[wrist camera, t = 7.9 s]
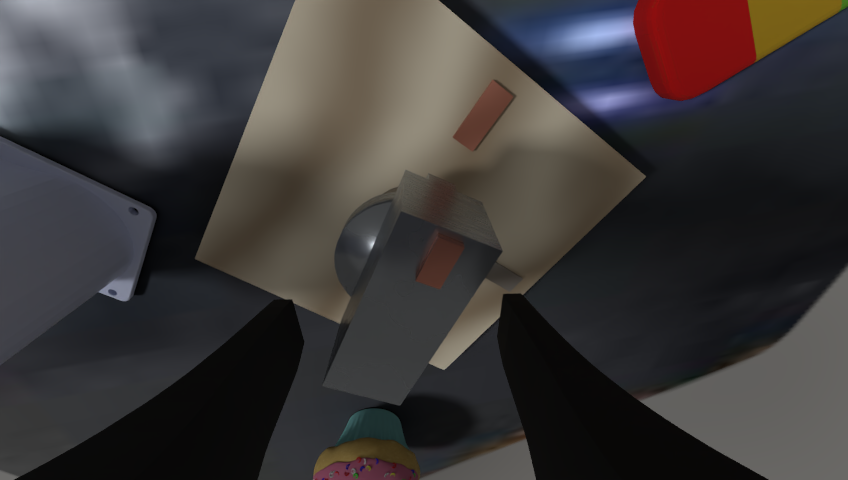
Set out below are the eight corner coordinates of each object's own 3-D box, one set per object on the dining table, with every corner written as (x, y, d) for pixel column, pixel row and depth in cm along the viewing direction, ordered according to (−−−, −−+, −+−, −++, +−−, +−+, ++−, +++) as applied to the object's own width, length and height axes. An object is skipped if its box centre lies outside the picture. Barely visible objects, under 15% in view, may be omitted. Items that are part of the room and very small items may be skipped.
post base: (209, 245, 20) (159, 291, 16) (339, -77, 13) (306, -133, 9) (442, 353, 26) (447, 408, 22) (629, 167, 18) (687, 199, 14)
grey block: (428, 328, 18) (431, 421, 13) (319, 293, 16) (282, 383, 12) (505, 202, 14) (546, 272, 10) (373, 145, 13) (349, 195, 8)
